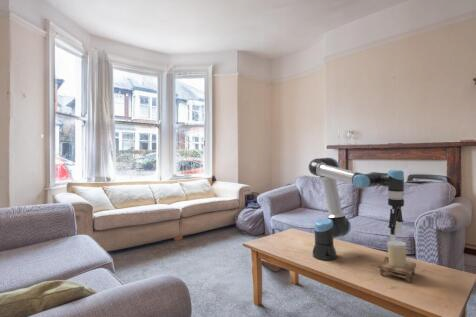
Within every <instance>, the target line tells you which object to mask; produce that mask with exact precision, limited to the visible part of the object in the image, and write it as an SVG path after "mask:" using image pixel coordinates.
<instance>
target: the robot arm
mask: <svg viewBox="0 0 476 317" xmlns="http://www.w3.org/2000/svg"><path fill="white" fill-rule="evenodd" d="M308 170H309V172H310V174H311V175H313V176H317V177H319V179H320V180H322V183H323V189H324V194H325V200H326V204H327V211H328V215H327V218H319V219H317V220H315V221H314V225H313V226H314V227H313V229H314V246H313V249H312V257H314V258H315V259H317V260H321V261H333V260H336V259H337V257H338V256H337V255H338V254H337V250H336V248H335V245H334V239H335V238H340V237H344V236H346V235H348V234H349V233H350V232H351V228H352V225H351V224H352V223H351V222H350V220H349V219H348V218H347V217H346V215H345V214H344V213H343V210H342V204H341V200H340V195H339V189H338V184H337V181H338V182H343V183H347V184H349V185H353V186H354V187H355V188H357V189H367V188H373V187H379V186H380V187H385V188H386V187H387V205H388V206H391V208H390V209H389V211H390V213H389V222H388V226H387V227H388V228H389V240H394V241H396V240H397V234H399V235H402V234H403V230H402V227H403V226H402V225H403V223H404V219H403V212H402V207H404V206H405V200H404V198H405V195H406V193H405V174H404V171H403V170H400V169H389V170H388V171H387V172H386V173H385V172H379V171H378V172H376V171H373V172H372V171H370V172H368V173H361V172H358V171H353V170H349V169H345V168H341V167H340V164H339V162H338V160H336V159H335V158H332V157H321V158H314V159H312V160H310V162H309V163H308ZM388 228H387V229H388Z"/></svg>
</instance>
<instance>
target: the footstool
mask: <svg viewBox="0 0 476 317" xmlns="http://www.w3.org/2000/svg"><path fill="white" fill-rule="evenodd" d="M416 266H417V262H413V261H408V260H406V265H405V267H395V266H392V265H390V264H389V257H388V256H385V257H383V259H382V260H381V261H380V263H379V264H378V269H379V273H380V274H379V275H380V276H381V277H383V276H384V275H385V274H387V275H391V276H395V277H399V278H403V279H406V283H408V284H409V283H411V277H412V275H414V274H415V271H416V268H417V267H416Z"/></svg>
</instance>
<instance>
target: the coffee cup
mask: <svg viewBox="0 0 476 317" xmlns="http://www.w3.org/2000/svg"><path fill="white" fill-rule="evenodd" d="M386 245H387V255H388V256H387V257H389V264H390V265H392V266H395V267H405V265H406V261H407V247H408V244H407V243H406V242H404V241H401V240H397V239H396V241H394V240H390V239H389V240H387V242H386Z"/></svg>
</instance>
